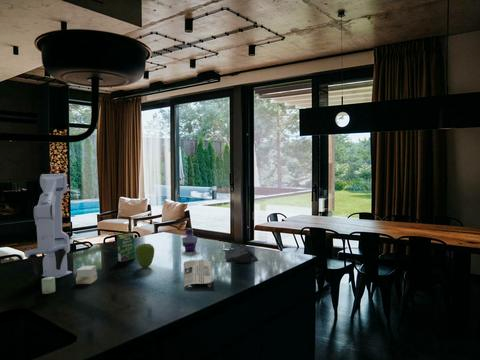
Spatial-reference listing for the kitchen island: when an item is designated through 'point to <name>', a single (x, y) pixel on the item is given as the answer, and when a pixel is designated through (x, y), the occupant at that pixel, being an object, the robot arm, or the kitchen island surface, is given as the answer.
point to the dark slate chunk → (240, 255)
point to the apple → (144, 255)
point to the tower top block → (86, 271)
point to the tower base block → (86, 279)
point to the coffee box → (125, 247)
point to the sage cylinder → (48, 285)
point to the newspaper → (197, 272)
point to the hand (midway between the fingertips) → (47, 271)
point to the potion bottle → (189, 241)
